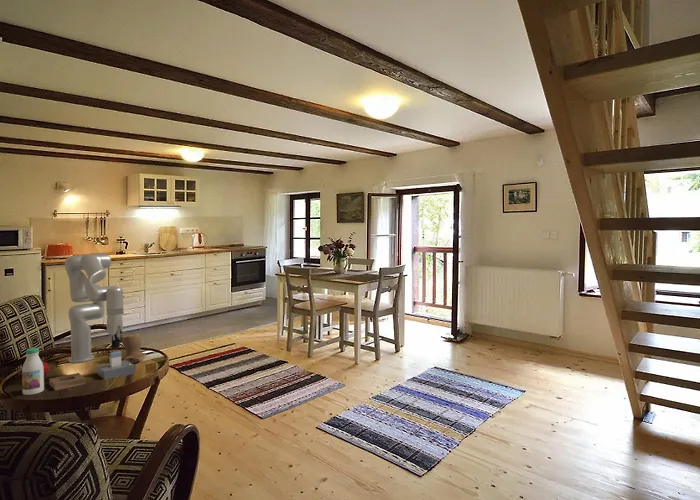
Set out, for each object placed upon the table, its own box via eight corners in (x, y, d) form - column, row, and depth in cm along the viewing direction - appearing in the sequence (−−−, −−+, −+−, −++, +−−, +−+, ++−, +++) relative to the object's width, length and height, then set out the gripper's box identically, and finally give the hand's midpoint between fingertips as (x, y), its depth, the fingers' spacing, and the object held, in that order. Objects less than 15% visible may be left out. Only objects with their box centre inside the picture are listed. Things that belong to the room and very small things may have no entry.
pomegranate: (42, 372, 213) (42, 354, 213) (53, 374, 209) (53, 356, 209) (20, 377, 204) (20, 359, 204) (31, 380, 200) (31, 361, 200)
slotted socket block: (49, 385, 194) (49, 379, 194) (78, 378, 203) (78, 372, 203) (55, 391, 186) (55, 385, 186) (85, 384, 195) (85, 378, 194)
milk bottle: (30, 389, 188) (29, 346, 188) (48, 389, 189) (47, 346, 188) (18, 396, 181) (17, 351, 180) (36, 395, 181) (35, 351, 180)
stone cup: (126, 356, 240) (126, 331, 239) (148, 355, 242) (147, 330, 242) (117, 364, 225) (116, 337, 224) (140, 363, 227) (140, 336, 227)
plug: (109, 373, 209) (109, 352, 209) (119, 371, 212) (119, 351, 212) (111, 374, 207) (111, 354, 207) (121, 372, 210) (121, 352, 210)
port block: (96, 374, 209) (96, 365, 208) (126, 368, 219) (126, 359, 219) (104, 380, 200) (104, 370, 200) (134, 373, 211) (134, 364, 211)
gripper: (102, 311, 211) (102, 346, 211) (111, 314, 201) (112, 351, 201) (117, 309, 216) (118, 343, 217) (128, 312, 206) (128, 348, 207)
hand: (115, 347), depth 209 cm, fingers closed
